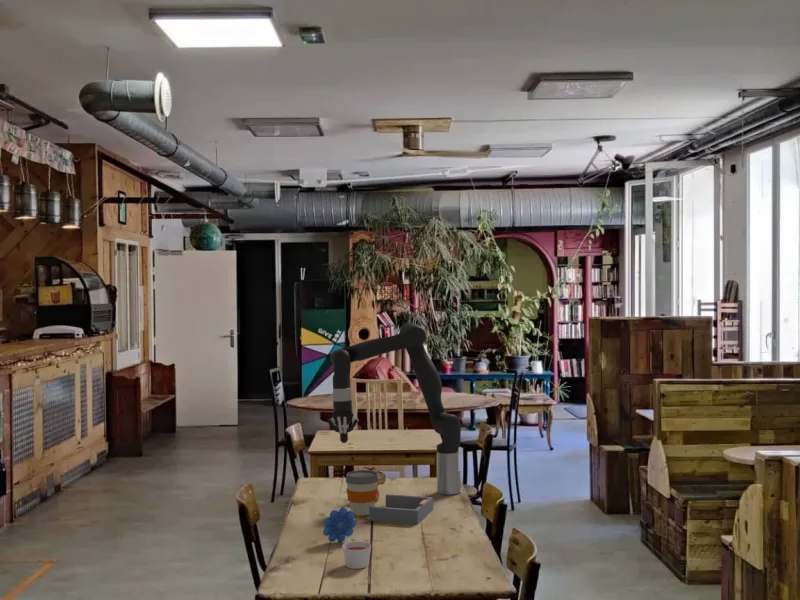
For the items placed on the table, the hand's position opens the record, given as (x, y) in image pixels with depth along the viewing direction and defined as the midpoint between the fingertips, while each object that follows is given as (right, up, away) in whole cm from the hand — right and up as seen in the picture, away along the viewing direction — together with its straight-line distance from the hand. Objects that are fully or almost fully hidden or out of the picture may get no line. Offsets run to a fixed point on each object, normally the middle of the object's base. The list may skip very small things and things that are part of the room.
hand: (344, 442), depth 329 cm
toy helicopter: (+11, -25, +12) cm, 30 cm away
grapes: (+2, -26, -47) cm, 54 cm away
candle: (+9, -26, -72) cm, 77 cm away
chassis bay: (+23, -25, -16) cm, 37 cm away
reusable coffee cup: (+8, -25, -11) cm, 29 cm away
